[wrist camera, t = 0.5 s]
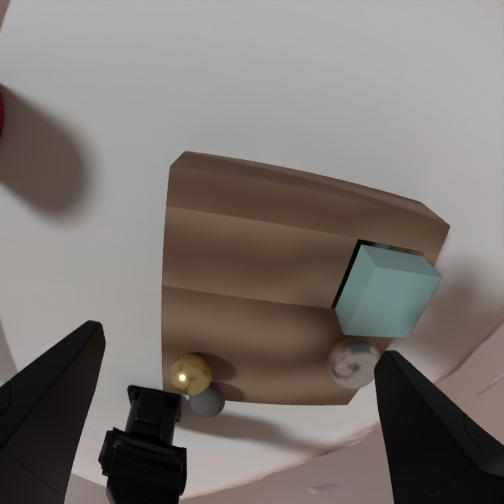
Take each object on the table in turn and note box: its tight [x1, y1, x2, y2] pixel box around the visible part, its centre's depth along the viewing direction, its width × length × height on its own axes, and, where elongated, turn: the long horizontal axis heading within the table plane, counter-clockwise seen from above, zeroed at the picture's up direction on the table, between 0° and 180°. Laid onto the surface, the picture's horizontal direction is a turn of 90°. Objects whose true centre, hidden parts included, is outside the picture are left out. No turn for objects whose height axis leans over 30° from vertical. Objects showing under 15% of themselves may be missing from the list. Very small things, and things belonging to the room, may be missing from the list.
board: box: [161, 151, 450, 405], centre depth 23 cm, size 20×18×4 cm
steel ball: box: [327, 336, 380, 389], centre depth 20 cm, size 4×4×4 cm
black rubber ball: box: [189, 384, 225, 417], centre depth 23 cm, size 3×3×3 cm
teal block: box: [335, 245, 441, 338], centre depth 18 cm, size 5×5×2 cm
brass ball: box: [169, 354, 212, 395], centre depth 21 cm, size 3×3×3 cm
